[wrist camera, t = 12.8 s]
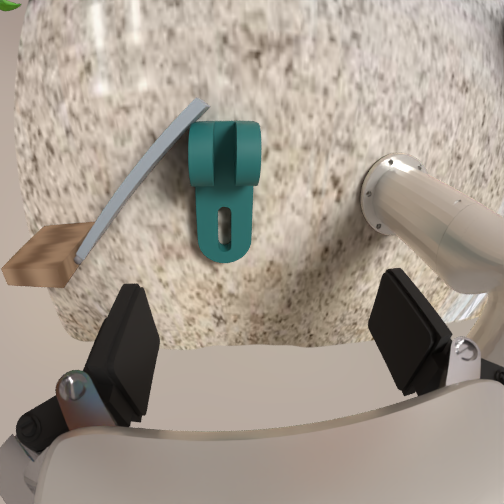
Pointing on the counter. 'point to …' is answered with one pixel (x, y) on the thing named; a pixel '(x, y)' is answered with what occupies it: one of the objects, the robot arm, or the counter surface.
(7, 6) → the snack cup
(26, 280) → the brown wooden block
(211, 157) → the bracket
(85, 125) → the counter surface
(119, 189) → the door
